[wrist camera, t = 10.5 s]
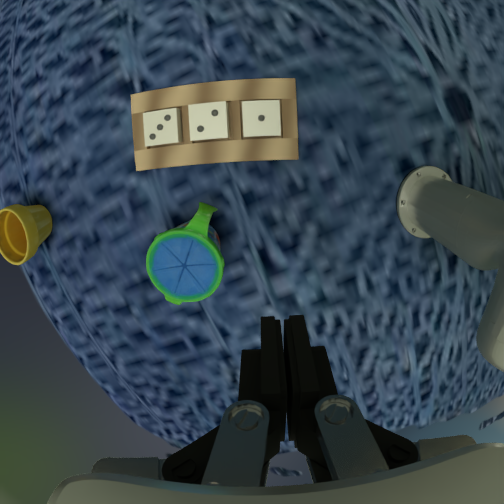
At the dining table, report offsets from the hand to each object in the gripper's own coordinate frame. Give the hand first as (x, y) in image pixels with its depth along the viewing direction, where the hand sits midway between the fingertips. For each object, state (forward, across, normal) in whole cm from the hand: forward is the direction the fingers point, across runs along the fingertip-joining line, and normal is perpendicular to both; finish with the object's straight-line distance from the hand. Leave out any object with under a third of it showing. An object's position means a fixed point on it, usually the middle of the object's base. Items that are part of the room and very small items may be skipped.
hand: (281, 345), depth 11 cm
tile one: (+34, 0, -10) cm, 36 cm away
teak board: (+35, +7, -10) cm, 37 cm away
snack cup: (+35, +11, +8) cm, 38 cm away
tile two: (+33, +7, -11) cm, 35 cm away
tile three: (+34, +14, -11) cm, 38 cm away
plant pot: (+35, +43, +2) cm, 56 cm away
